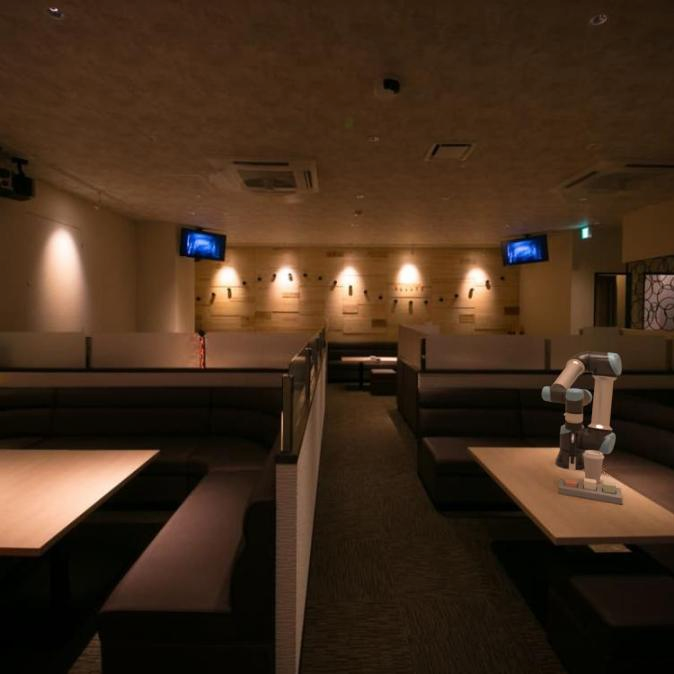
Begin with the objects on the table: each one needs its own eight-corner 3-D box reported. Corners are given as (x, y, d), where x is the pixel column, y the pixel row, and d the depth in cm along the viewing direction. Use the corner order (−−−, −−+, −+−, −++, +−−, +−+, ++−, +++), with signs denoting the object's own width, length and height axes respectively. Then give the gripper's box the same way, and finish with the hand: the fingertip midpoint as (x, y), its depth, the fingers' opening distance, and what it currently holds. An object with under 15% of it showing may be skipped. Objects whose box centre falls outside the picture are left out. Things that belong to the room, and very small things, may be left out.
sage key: (603, 488, 229) (603, 480, 228) (615, 490, 226) (615, 482, 226) (603, 491, 224) (603, 484, 224) (615, 493, 222) (615, 486, 222)
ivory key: (584, 485, 232) (584, 477, 232) (595, 486, 230) (596, 479, 230) (583, 488, 228) (584, 481, 228) (595, 490, 226) (596, 483, 225)
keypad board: (560, 484, 241) (560, 478, 241) (620, 494, 229) (620, 488, 229) (558, 493, 229) (558, 487, 229) (621, 504, 217) (622, 498, 217)
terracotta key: (565, 485, 236) (565, 478, 236) (576, 487, 234) (577, 480, 234) (564, 489, 232) (565, 482, 232) (576, 491, 229) (576, 483, 229)
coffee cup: (605, 485, 241) (607, 455, 240) (584, 483, 243) (586, 454, 242) (599, 478, 250) (600, 450, 249) (579, 477, 252) (580, 449, 251)
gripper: (565, 417, 238) (564, 464, 240) (564, 423, 227) (562, 472, 229) (582, 419, 235) (581, 466, 237) (582, 425, 223) (580, 475, 225)
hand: (572, 469), depth 233 cm, fingers closed
